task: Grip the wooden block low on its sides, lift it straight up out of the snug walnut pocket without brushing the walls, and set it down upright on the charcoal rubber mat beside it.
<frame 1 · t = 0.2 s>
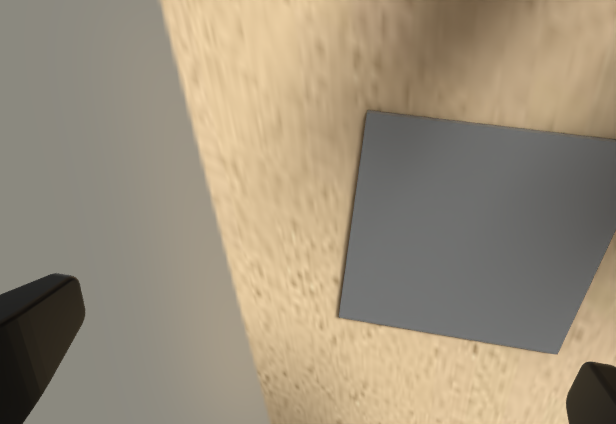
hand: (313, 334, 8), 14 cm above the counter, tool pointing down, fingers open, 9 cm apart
mat: (470, 241, 23), on the counter
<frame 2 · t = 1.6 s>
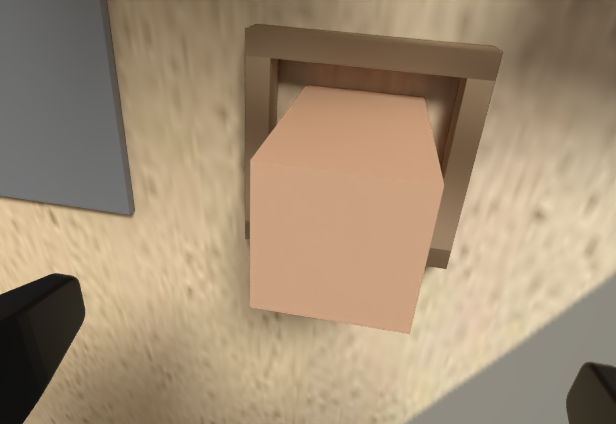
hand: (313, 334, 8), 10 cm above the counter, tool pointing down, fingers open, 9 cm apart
pocket: (357, 147, 16), on the counter
block: (349, 187, 13), in the pocket
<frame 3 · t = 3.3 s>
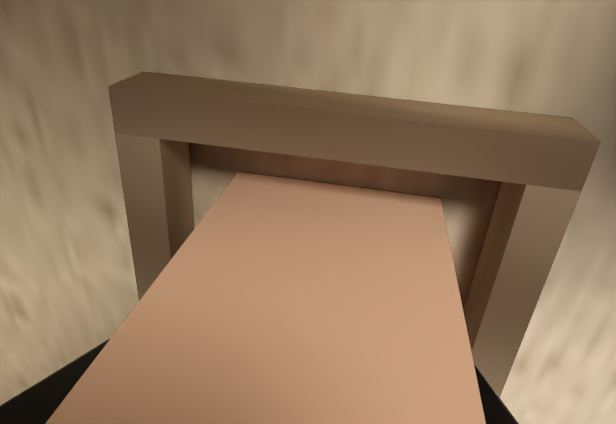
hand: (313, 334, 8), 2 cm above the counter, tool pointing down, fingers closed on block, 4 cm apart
pocket: (327, 268, 10), on the counter
block: (298, 400, 7), in the pocket, touching gripper
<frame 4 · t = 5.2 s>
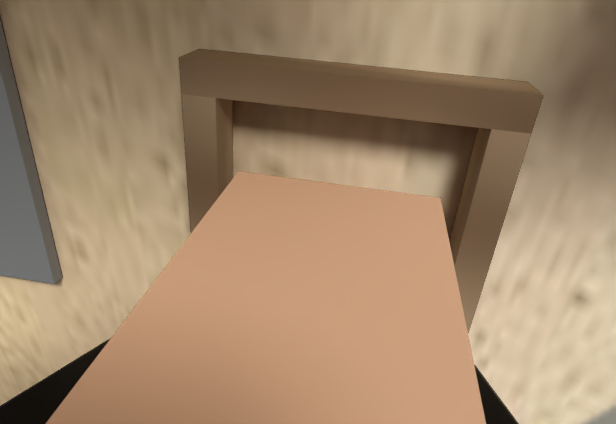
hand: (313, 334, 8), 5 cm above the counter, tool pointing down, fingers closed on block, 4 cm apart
pocket: (340, 209, 12), on the counter
block: (298, 400, 7), point 6 cm above the counter, touching gripper
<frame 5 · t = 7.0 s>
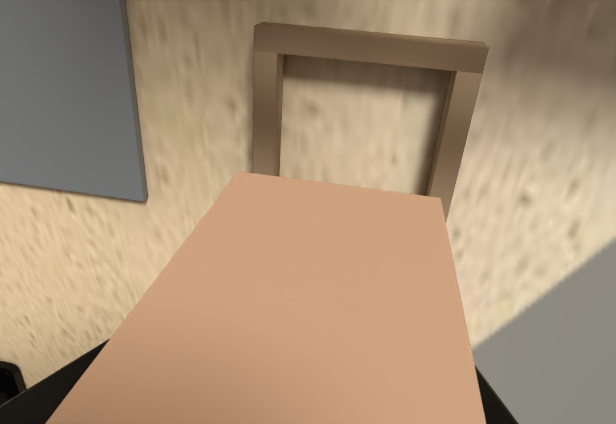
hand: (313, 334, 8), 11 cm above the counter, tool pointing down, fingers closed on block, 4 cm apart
pocket: (356, 136, 18), on the counter
block: (298, 400, 7), point 12 cm above the counter, touching gripper
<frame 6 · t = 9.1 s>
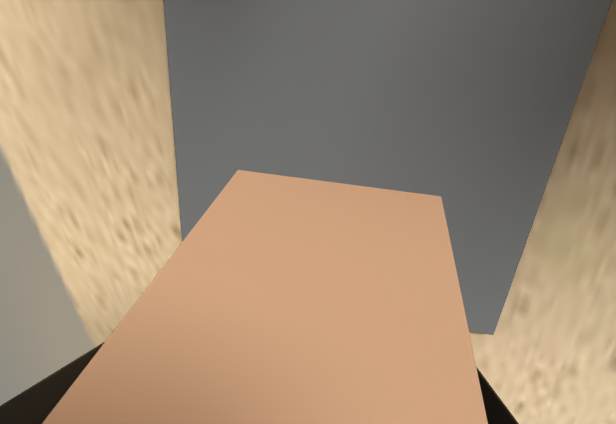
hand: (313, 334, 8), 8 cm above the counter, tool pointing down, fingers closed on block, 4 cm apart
mat: (351, 161, 15), on the counter
block: (298, 399, 7), point 10 cm above the counter, touching gripper
when the fingers open (4 cm above the counter, at t = 10.7 s): block drops 2 cm, resting on mat.
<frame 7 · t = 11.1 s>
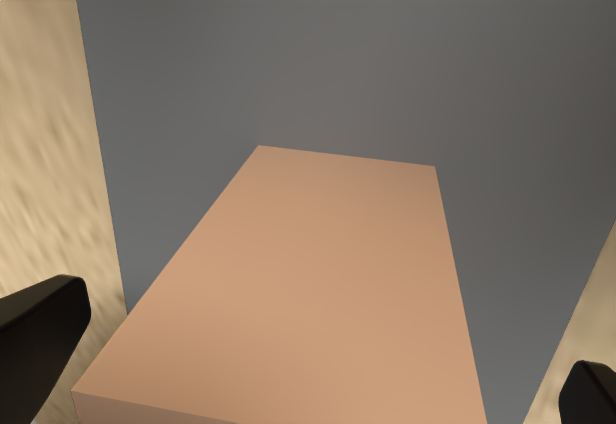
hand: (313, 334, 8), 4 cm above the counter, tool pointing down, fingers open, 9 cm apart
mat: (338, 223, 12), on the counter
block: (314, 329, 8), on the mat
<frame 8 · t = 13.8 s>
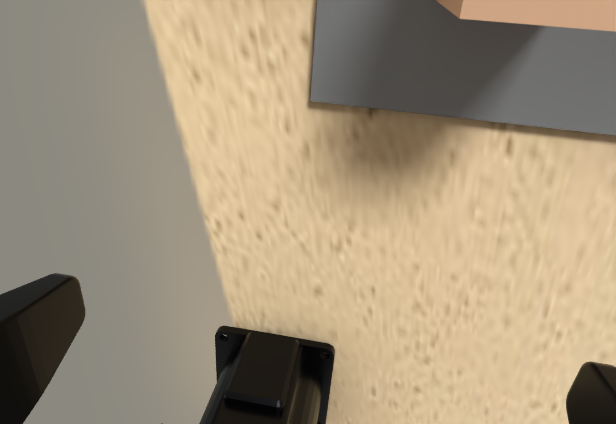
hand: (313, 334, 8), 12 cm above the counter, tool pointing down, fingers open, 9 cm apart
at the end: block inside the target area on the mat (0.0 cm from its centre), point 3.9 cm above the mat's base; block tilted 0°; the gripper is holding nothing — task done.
